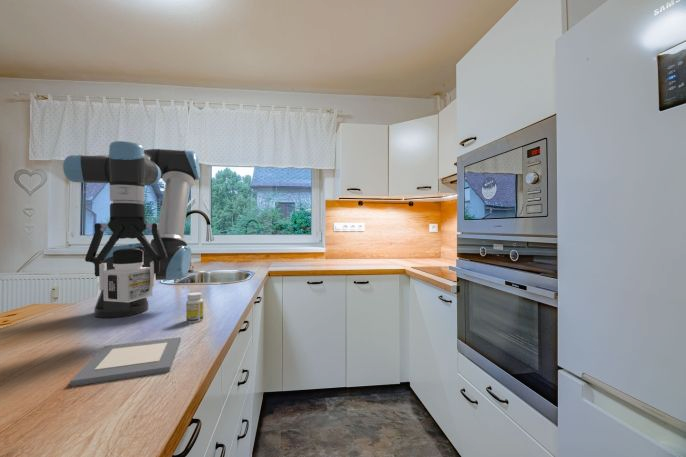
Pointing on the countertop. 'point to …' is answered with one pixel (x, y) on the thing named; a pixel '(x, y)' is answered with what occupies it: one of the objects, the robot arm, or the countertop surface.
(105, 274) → the container
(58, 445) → the countertop surface
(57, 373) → the countertop surface
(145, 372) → the board
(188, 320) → the supplement bottle
